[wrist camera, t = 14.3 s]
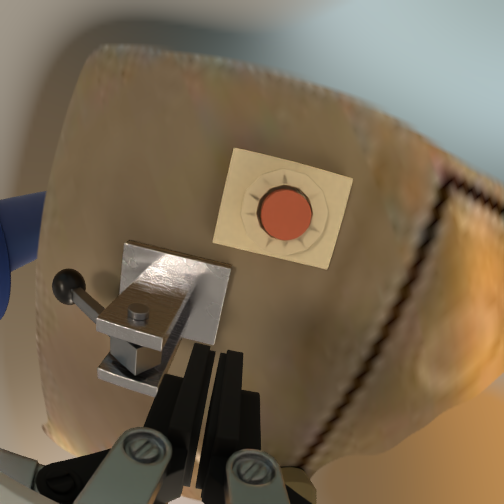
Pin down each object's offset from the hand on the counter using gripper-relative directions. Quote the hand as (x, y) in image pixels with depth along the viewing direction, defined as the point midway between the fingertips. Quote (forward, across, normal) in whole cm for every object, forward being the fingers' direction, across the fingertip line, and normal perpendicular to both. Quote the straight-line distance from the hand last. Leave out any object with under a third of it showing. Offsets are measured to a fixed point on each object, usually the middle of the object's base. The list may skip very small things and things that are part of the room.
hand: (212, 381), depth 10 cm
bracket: (+18, +5, +5) cm, 20 cm away
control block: (+18, -3, -4) cm, 19 cm away
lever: (+12, +9, +5) cm, 16 cm away
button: (+15, -3, -4) cm, 16 cm away
